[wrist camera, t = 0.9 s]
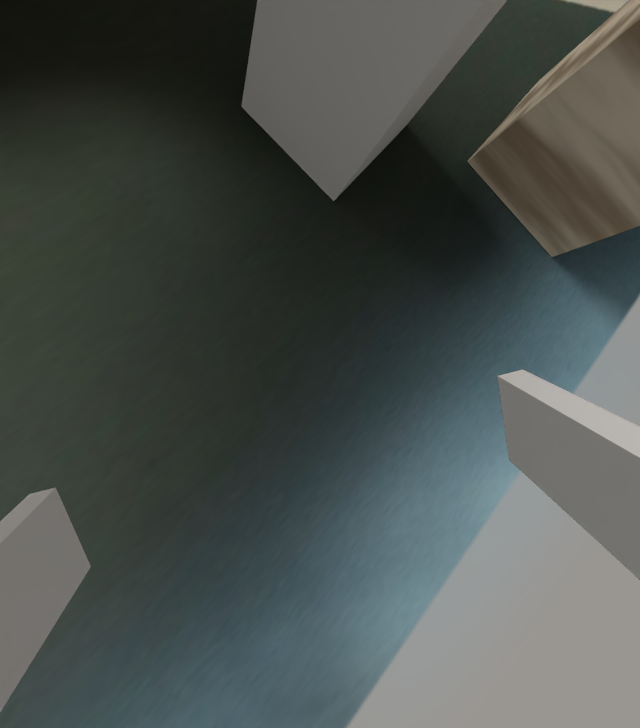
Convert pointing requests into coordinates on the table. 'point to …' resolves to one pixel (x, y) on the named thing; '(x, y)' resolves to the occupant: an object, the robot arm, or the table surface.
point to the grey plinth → (351, 74)
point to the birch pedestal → (575, 143)
